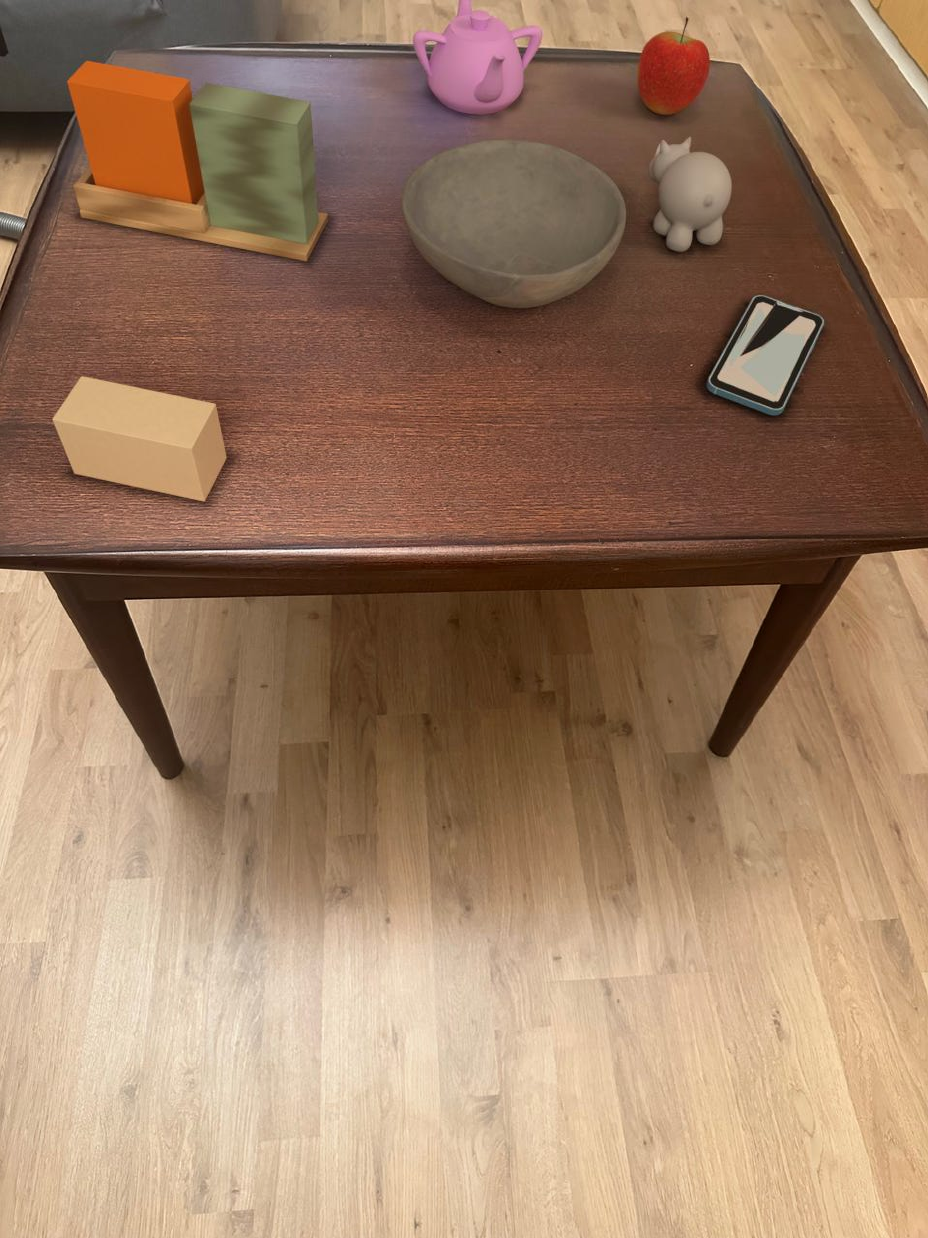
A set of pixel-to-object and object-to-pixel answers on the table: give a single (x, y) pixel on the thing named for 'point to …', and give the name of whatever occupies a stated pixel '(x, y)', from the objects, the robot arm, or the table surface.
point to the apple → (672, 71)
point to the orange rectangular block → (138, 131)
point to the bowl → (514, 220)
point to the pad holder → (233, 179)
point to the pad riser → (141, 438)
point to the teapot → (476, 61)
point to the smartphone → (765, 355)
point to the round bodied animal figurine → (689, 194)
